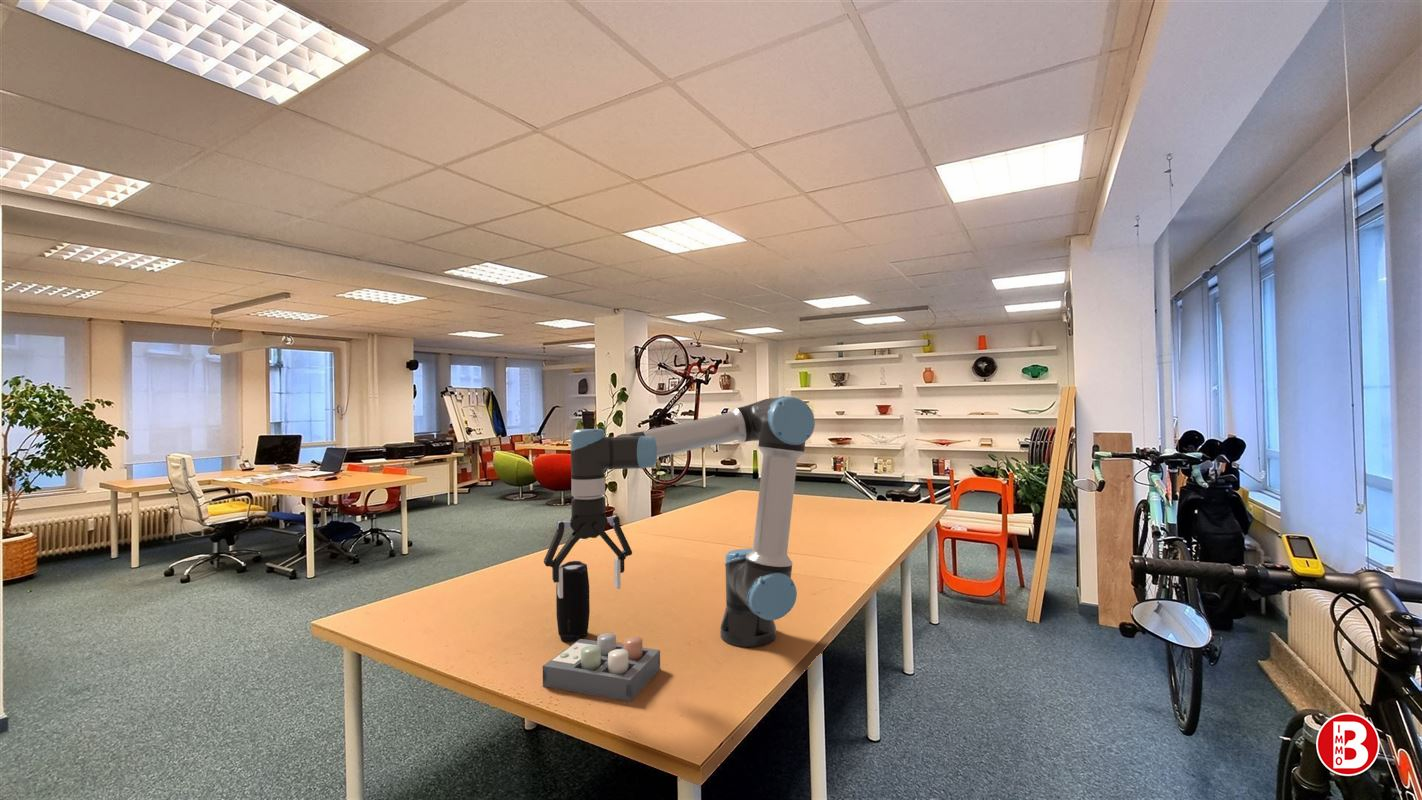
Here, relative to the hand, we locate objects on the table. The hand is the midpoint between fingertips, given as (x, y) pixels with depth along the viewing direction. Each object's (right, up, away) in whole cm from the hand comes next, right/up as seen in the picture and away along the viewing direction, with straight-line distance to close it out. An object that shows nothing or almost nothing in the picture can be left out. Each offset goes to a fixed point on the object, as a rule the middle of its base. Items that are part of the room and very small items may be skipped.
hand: (589, 591), depth 120 cm
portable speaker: (-10, -22, +26) cm, 35 cm away
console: (+3, -21, +2) cm, 21 cm away
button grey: (+3, -17, +6) cm, 19 cm away
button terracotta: (+9, -17, +4) cm, 20 cm away
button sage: (0, -17, -1) cm, 17 cm away
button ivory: (+7, -17, -3) cm, 19 cm away
